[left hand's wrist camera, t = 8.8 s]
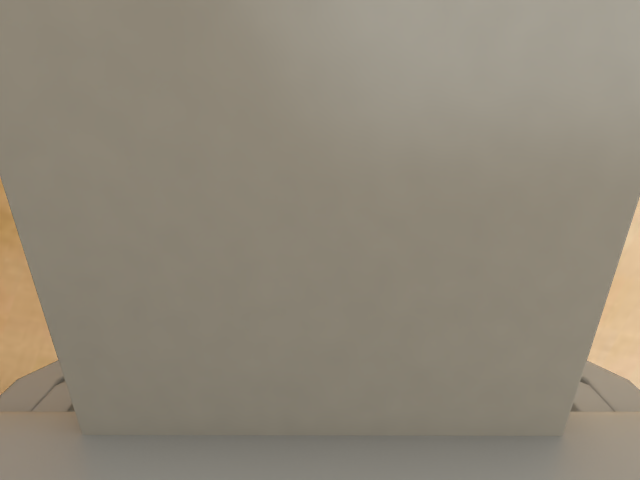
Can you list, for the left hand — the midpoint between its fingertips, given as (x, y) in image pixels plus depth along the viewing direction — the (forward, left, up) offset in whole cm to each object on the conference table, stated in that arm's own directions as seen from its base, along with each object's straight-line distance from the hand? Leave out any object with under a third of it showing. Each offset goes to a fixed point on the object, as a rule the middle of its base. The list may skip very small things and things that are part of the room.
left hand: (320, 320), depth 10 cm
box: (+2, +8, -8) cm, 11 cm away
